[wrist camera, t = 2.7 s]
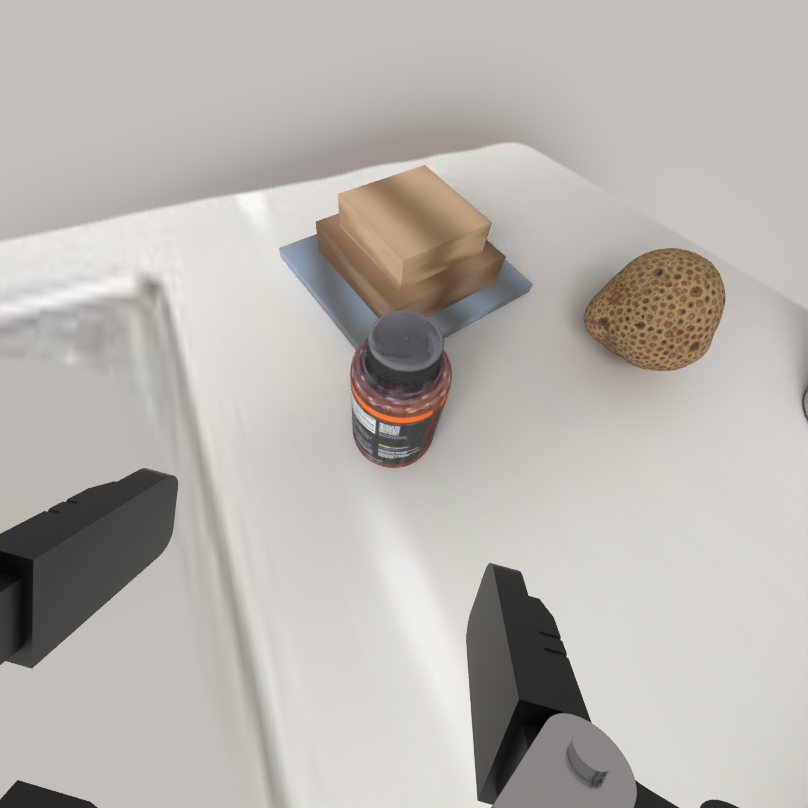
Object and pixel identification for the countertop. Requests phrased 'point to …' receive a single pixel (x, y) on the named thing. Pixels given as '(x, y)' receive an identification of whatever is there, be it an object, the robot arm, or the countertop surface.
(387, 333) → the supplement bottle
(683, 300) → the natural sponge
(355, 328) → the block tower
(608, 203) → the countertop surface
